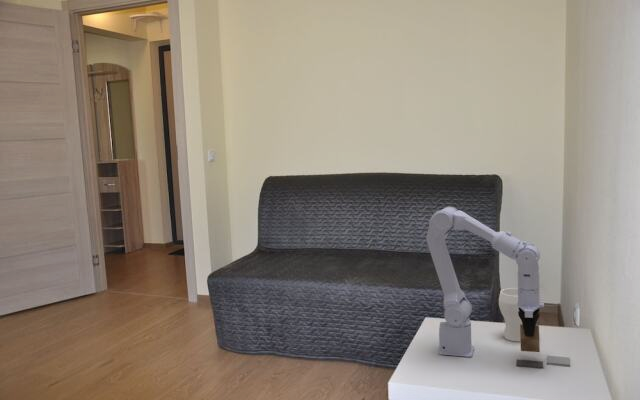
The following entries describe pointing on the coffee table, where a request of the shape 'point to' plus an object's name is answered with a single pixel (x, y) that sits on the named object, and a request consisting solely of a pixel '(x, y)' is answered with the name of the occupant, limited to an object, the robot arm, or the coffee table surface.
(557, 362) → the tile
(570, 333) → the coffee table surface
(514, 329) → the cream vase
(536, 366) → the pad
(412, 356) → the coffee table surface
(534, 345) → the brown wooden block
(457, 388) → the coffee table surface
